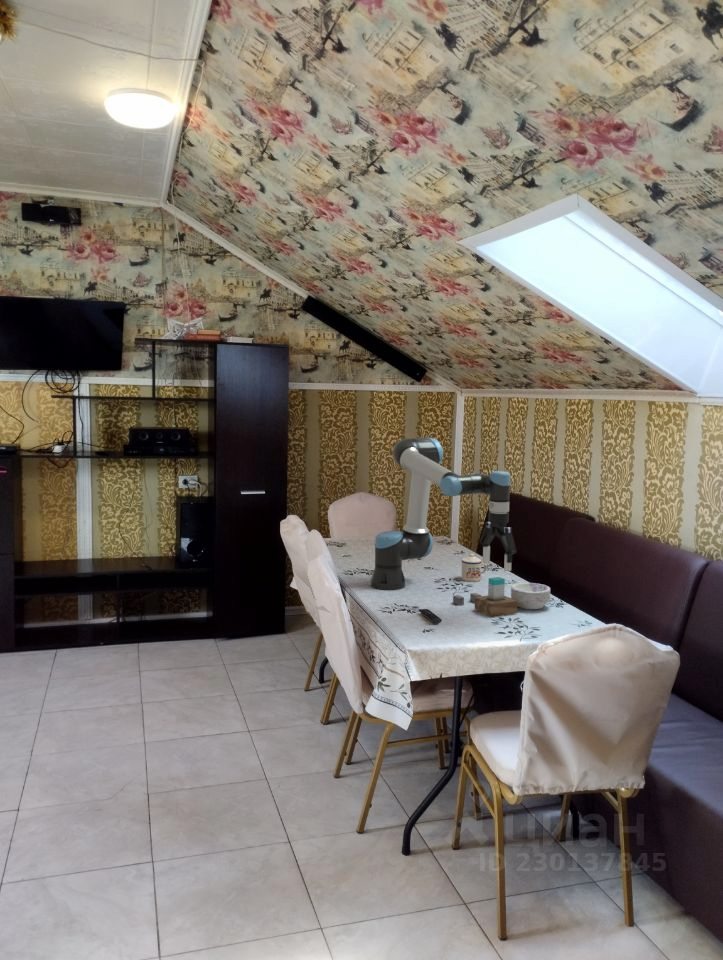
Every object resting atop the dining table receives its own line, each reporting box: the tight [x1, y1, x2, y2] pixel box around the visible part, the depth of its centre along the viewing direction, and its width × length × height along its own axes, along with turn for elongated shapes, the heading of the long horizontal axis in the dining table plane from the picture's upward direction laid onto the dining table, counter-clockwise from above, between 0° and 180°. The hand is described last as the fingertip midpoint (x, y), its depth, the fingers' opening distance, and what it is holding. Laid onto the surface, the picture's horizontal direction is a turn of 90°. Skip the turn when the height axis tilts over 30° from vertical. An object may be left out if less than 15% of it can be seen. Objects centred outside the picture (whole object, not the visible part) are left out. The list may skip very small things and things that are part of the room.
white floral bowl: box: [510, 582, 551, 610], centre depth 298 cm, size 15×15×8 cm
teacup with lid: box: [461, 553, 488, 582], centre depth 341 cm, size 12×9×12 cm
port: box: [474, 595, 518, 618], centre depth 291 cm, size 11×12×5 cm
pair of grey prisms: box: [452, 592, 482, 606], centre depth 303 cm, size 4×11×3 cm, turn 116°
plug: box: [487, 576, 506, 601], centre depth 290 cm, size 4×5×12 cm
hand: (496, 567), depth 290 cm, fingers open, 13 cm apart
